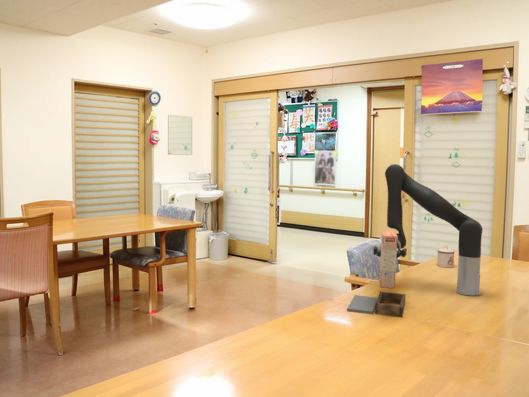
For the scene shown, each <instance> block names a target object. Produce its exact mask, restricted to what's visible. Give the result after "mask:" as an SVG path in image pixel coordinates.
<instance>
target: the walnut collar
mask: <svg viewBox="0 0 529 397" xmlns="http://www.w3.org/2000/svg"><path fill="white" fill-rule="evenodd" d="M377 297H378V298H377V301H376V303H375V309H374V314H375V315H381V316H390V317H398V318H399V317H400V318H403V315H404V311H405V306H406V293H397V292H390V291H379V294H378V296H377ZM390 302H391V303H393V304H391V303H390ZM387 303H390V304H387ZM398 304H399V305H398Z"/></svg>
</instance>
